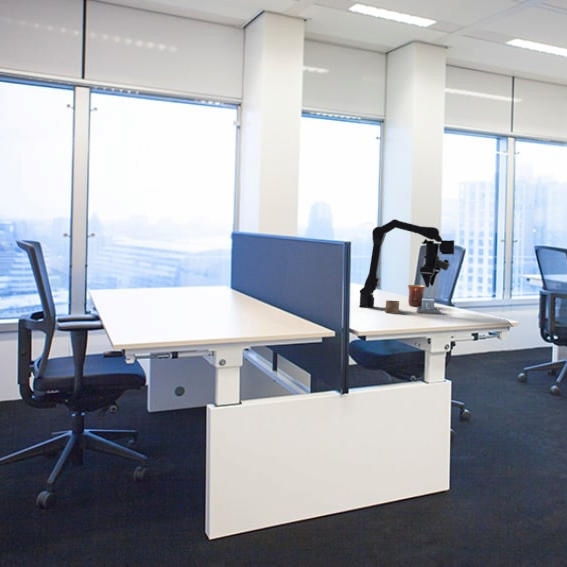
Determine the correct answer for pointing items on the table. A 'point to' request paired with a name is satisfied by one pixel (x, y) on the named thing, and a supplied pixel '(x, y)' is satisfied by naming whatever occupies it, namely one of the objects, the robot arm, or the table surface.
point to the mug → (415, 295)
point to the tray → (428, 311)
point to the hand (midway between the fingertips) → (429, 286)
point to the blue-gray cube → (428, 304)
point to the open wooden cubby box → (392, 306)
